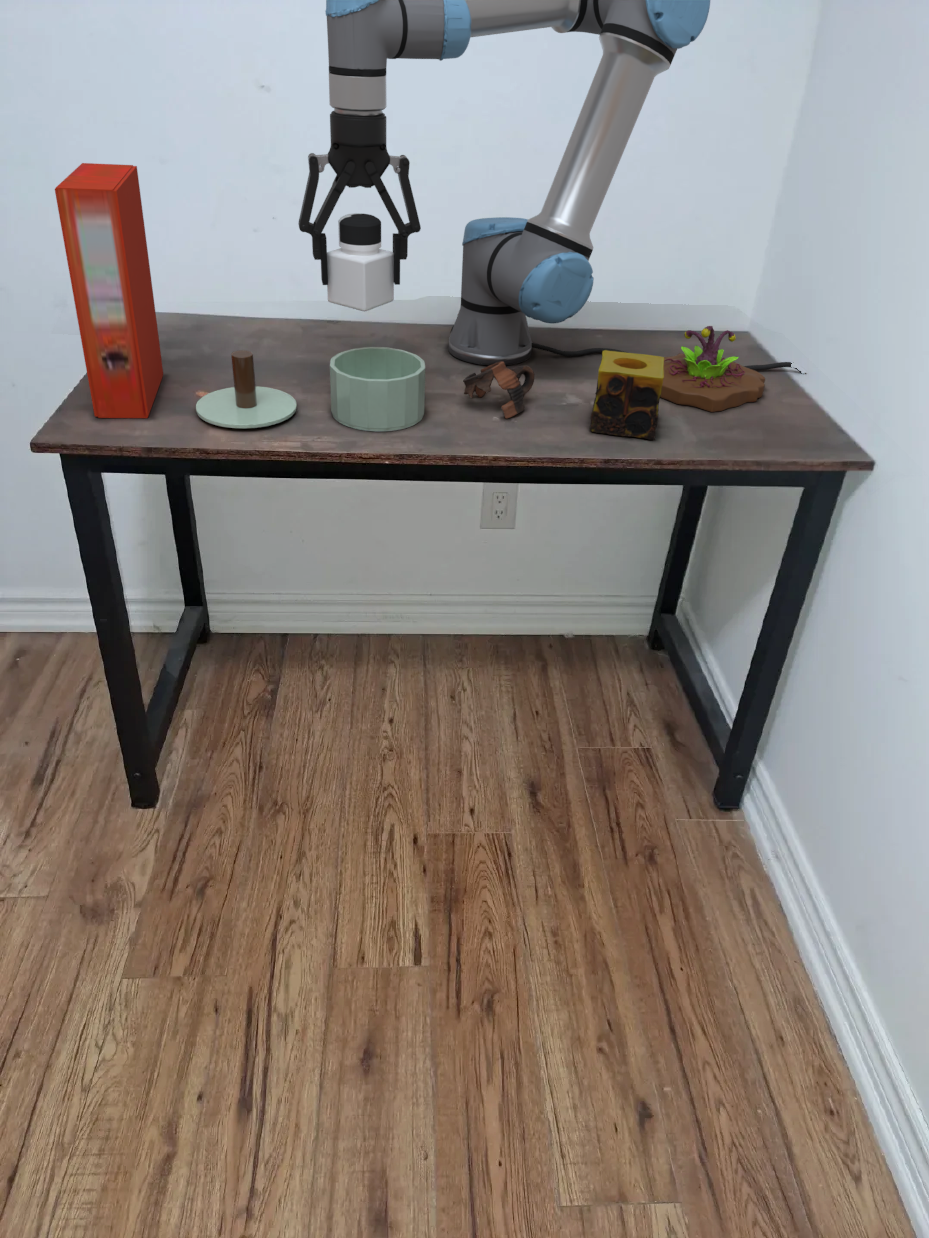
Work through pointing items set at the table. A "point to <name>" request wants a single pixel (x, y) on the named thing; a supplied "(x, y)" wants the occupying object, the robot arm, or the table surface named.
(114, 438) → the table surface
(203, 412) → the basin lid
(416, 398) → the basin
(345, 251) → the medicine bottle
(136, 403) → the file binder
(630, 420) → the yellow brown holed block
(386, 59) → the robot arm
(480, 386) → the brown grey curved piece
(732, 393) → the plant
